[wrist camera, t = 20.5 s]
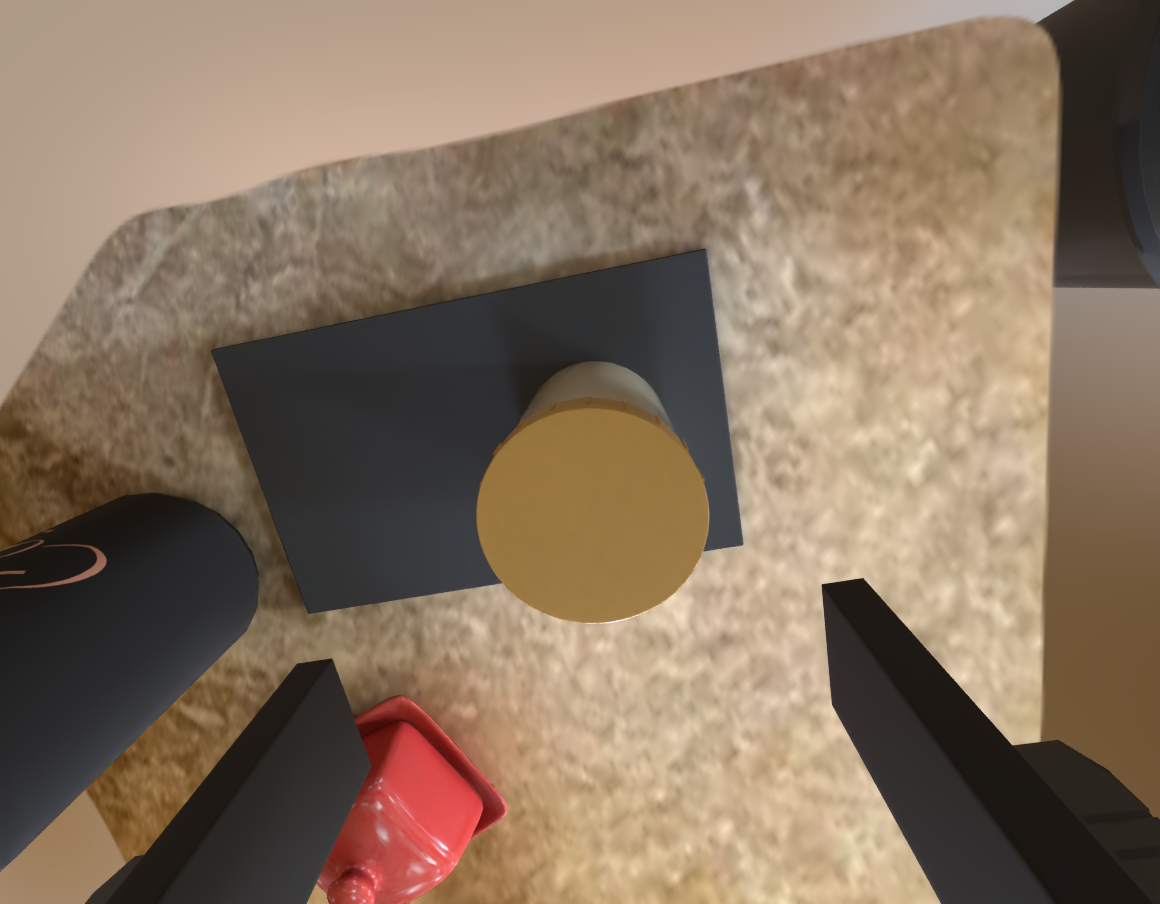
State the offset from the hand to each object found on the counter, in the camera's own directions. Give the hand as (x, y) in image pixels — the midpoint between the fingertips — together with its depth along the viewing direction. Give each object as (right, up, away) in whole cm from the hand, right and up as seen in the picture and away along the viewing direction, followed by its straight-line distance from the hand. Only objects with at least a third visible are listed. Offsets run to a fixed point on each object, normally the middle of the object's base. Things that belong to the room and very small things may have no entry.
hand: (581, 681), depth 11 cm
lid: (0, +2, +8) cm, 8 cm away
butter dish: (-12, -17, +27) cm, 34 cm away
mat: (-5, +5, +20) cm, 21 cm away
